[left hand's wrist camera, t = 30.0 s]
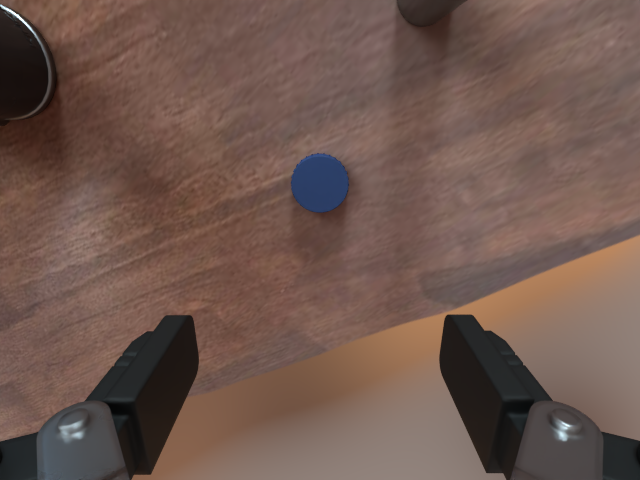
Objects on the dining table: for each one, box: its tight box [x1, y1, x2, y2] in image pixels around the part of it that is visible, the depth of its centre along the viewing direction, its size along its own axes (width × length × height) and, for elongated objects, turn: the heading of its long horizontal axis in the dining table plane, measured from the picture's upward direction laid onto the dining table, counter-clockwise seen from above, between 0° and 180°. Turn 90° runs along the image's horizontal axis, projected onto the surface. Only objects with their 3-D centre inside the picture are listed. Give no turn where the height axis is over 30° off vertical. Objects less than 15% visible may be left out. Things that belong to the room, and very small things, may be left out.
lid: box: [291, 153, 349, 213], centre depth 35 cm, size 6×6×2 cm
